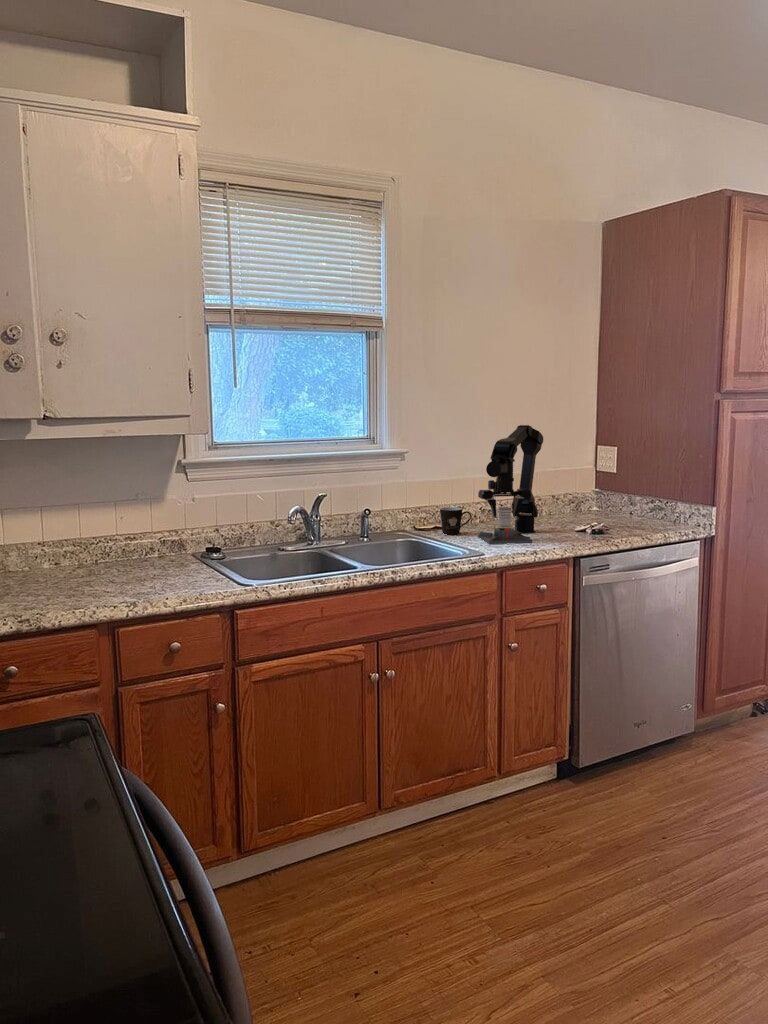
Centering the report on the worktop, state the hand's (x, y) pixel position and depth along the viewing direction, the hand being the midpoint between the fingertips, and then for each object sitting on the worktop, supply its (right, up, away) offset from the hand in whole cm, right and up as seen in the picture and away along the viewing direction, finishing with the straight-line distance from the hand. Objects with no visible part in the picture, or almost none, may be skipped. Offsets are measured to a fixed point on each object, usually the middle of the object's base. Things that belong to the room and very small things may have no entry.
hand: (504, 517), depth 287 cm
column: (0, -4, +1) cm, 3 cm away
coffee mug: (-17, -7, +14) cm, 23 cm away
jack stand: (0, -8, +1) cm, 8 cm away
